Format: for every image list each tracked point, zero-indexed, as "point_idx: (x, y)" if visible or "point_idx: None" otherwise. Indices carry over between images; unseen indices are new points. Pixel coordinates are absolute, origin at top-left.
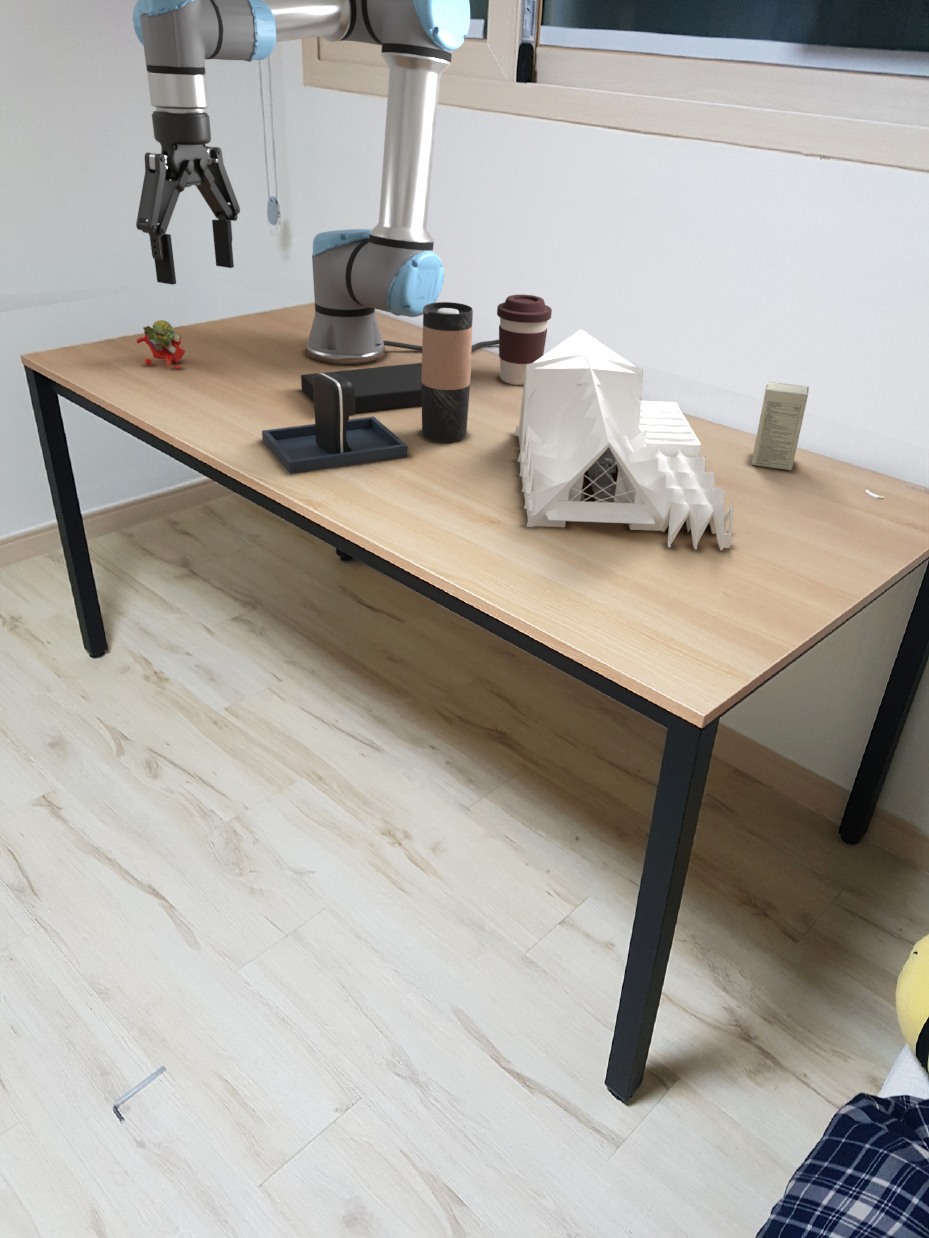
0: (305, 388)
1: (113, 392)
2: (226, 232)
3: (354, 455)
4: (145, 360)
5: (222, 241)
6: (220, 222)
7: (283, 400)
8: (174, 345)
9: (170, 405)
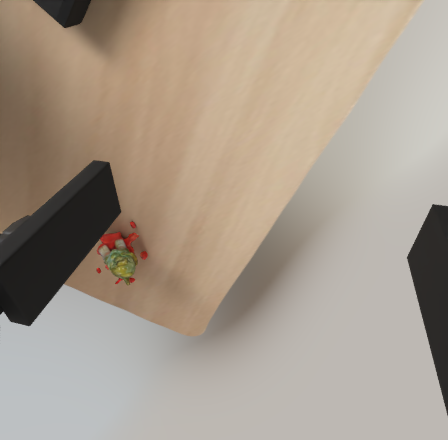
0: (83, 4)
1: (238, 245)
2: (33, 243)
3: None
4: (145, 258)
5: (66, 236)
6: (15, 293)
7: (133, 26)
8: (112, 246)
9: (244, 170)
